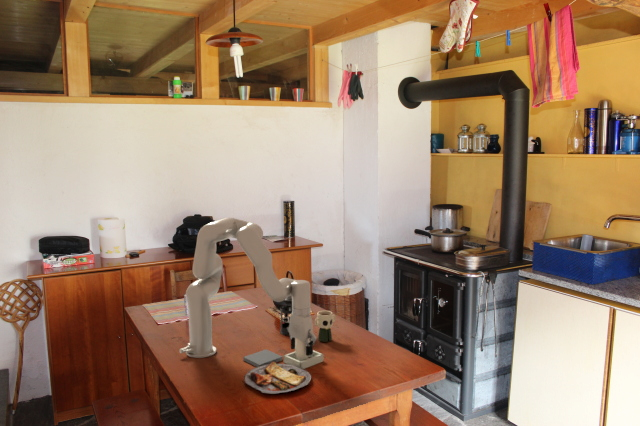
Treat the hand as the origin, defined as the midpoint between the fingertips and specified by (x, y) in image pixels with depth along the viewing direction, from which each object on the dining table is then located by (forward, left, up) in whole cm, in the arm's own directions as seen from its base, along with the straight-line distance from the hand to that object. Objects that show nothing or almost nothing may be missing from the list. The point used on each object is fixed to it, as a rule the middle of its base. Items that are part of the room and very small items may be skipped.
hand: (301, 351), depth 226 cm
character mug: (+24, +11, -5) cm, 27 cm away
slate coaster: (-10, +13, -5) cm, 17 cm away
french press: (+20, +30, -5) cm, 36 cm away
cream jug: (0, 0, -5) cm, 5 cm away
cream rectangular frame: (+1, 0, -5) cm, 5 cm away
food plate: (-18, -7, -5) cm, 20 cm away
